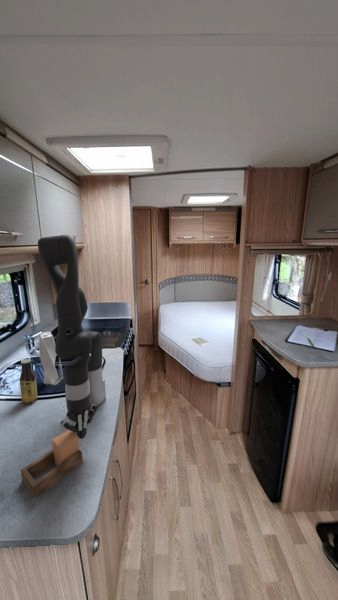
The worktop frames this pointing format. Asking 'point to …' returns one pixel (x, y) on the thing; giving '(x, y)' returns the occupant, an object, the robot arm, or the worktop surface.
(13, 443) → the worktop surface
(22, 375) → the sauce bottle
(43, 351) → the skyscraper
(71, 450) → the block
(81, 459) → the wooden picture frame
